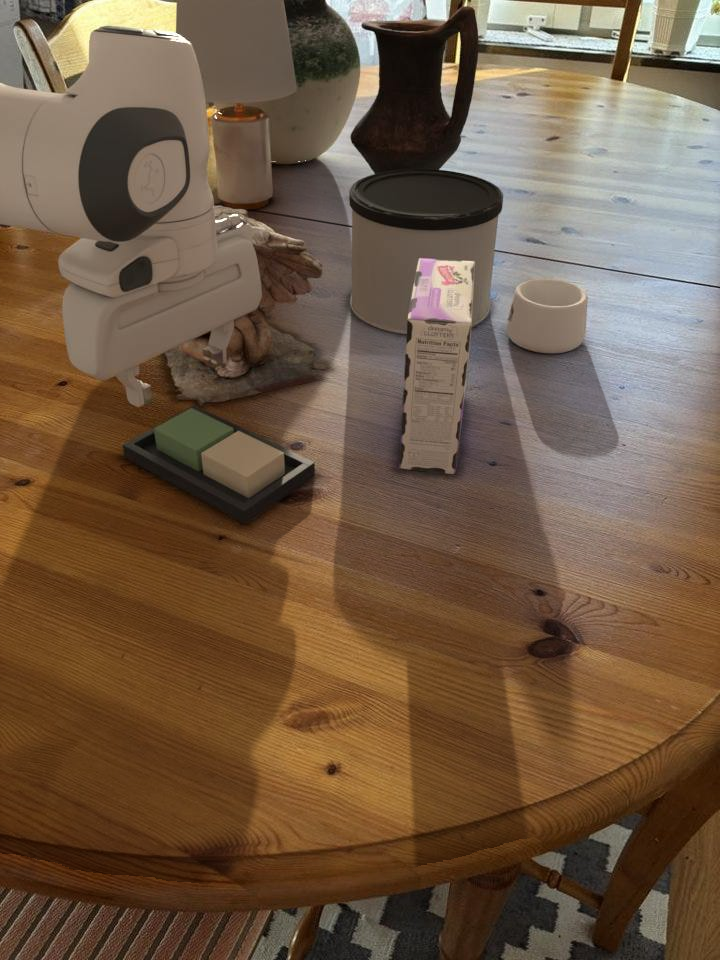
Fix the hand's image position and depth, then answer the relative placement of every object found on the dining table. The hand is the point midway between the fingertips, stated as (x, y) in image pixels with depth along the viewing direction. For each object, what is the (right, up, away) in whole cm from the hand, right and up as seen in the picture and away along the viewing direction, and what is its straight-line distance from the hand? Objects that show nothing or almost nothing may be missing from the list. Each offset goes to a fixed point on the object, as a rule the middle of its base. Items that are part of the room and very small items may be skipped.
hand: (179, 382), depth 81 cm
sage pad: (+1, -6, +5) cm, 8 cm away
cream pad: (+6, -9, +1) cm, 10 cm away
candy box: (+24, -5, +9) cm, 26 cm away
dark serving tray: (+3, -8, +3) cm, 9 cm away
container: (+25, +14, +34) cm, 44 cm away
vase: (+3, +53, +86) cm, 102 cm away
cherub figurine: (+3, +5, +21) cm, 22 cm away
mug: (+40, +9, +27) cm, 50 cm away
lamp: (-3, +38, +65) cm, 75 cm away
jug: (+25, +40, +68) cm, 83 cm away
